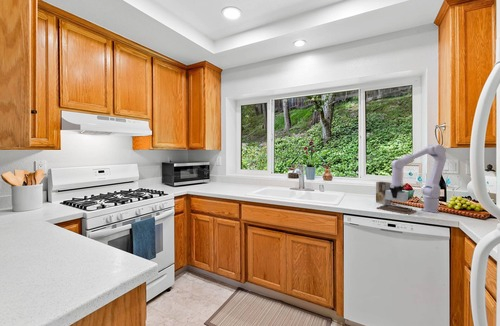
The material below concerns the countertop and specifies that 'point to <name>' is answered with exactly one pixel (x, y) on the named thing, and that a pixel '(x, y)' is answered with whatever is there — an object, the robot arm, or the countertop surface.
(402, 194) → the gray rectangular block
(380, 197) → the coffee box
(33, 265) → the countertop surface
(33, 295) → the countertop surface
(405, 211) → the jig
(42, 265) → the countertop surface
